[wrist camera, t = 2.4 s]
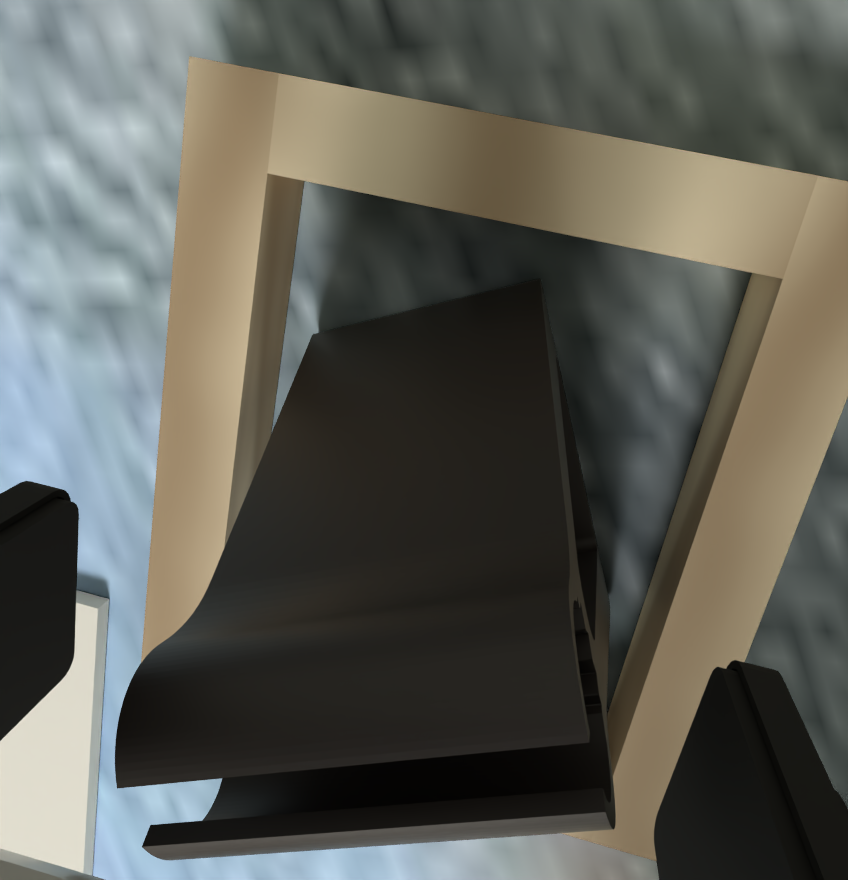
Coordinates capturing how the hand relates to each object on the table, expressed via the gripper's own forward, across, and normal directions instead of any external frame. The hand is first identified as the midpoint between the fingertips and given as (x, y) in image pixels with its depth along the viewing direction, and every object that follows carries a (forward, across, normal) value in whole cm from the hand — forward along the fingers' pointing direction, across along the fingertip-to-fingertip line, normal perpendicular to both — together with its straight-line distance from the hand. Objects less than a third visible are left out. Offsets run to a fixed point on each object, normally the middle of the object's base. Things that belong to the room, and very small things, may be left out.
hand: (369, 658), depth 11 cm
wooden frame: (+10, 0, +1) cm, 10 cm away
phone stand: (+10, 0, +1) cm, 10 cm away
